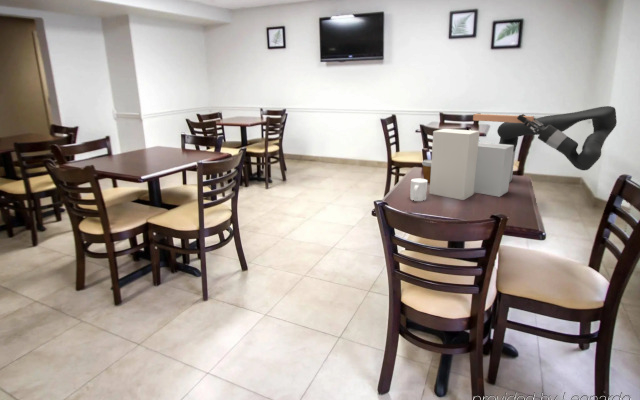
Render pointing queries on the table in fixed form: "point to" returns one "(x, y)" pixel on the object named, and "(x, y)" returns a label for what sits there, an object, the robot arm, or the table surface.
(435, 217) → the table surface
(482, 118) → the terracotta bar
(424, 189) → the mug
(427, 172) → the disposable coffee cup
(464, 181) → the stepped stand
